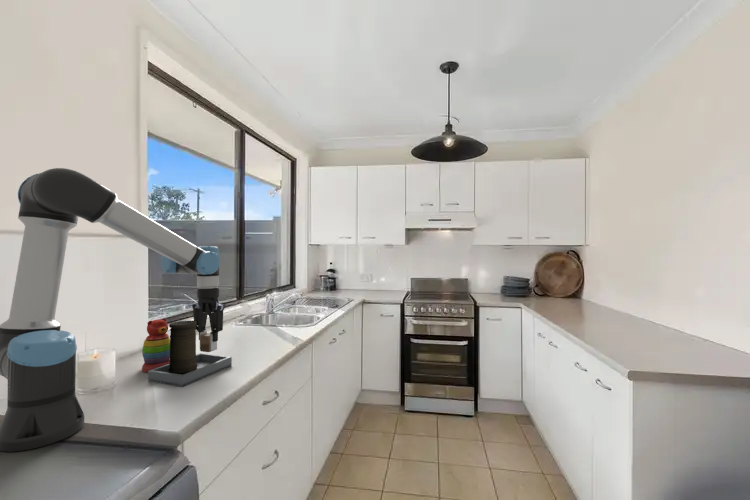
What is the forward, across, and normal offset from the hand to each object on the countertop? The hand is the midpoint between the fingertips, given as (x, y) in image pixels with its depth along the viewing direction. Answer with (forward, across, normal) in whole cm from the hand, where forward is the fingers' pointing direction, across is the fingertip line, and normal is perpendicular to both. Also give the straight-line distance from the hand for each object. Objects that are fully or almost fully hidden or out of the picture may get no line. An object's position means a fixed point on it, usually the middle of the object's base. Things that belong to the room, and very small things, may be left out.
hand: (208, 349), depth 131 cm
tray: (+7, 0, +7) cm, 10 cm away
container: (+6, 0, +11) cm, 13 cm away
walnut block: (0, 0, 0) cm, 0 cm away
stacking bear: (+7, +18, +6) cm, 20 cm away
